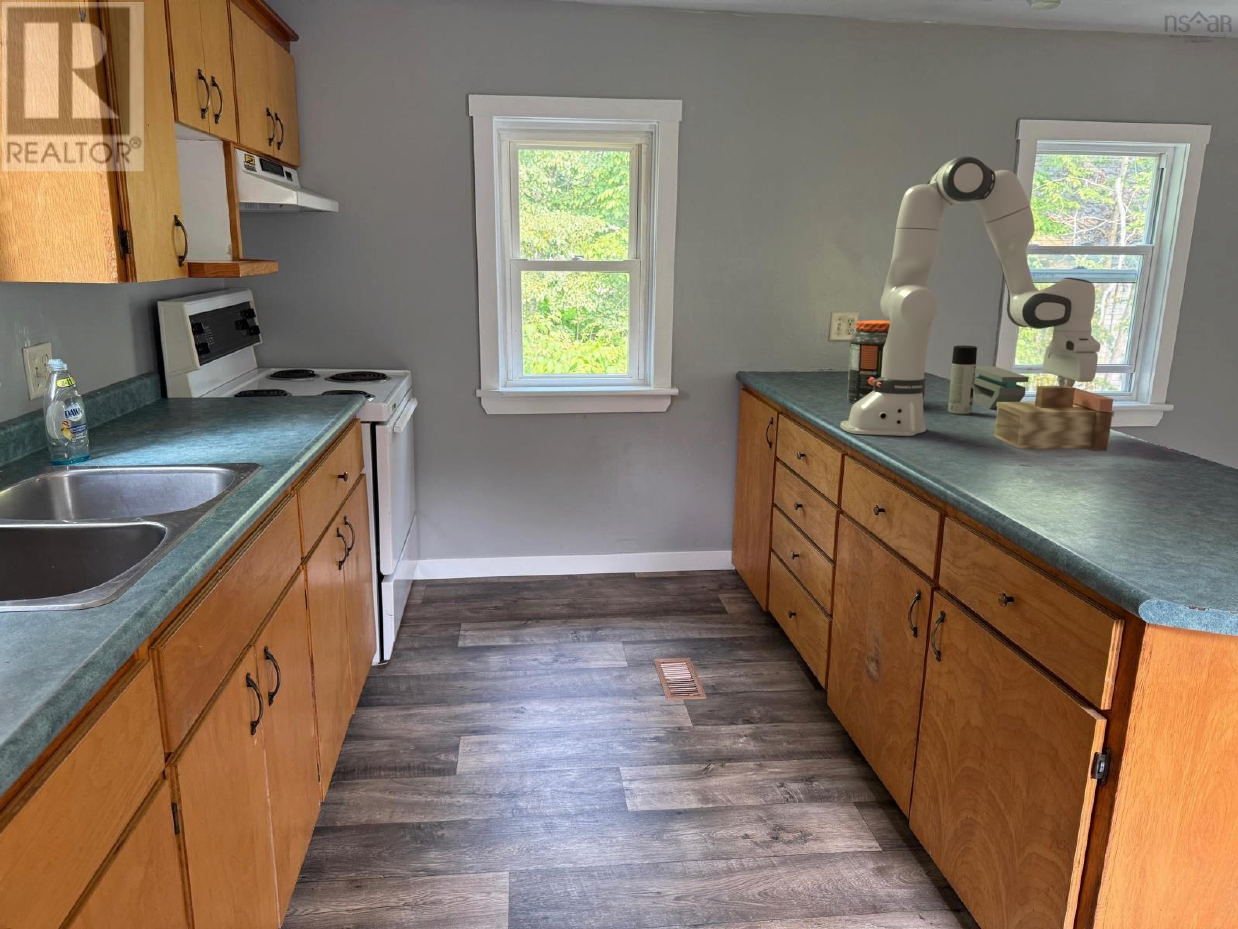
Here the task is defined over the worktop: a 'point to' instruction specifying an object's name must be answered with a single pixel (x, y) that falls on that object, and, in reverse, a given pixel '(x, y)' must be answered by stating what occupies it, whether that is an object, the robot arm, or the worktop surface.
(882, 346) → the supplement tub
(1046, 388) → the toolbox lid
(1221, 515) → the worktop surface
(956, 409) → the spray can
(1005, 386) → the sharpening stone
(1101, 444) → the toolbox
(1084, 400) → the bar
